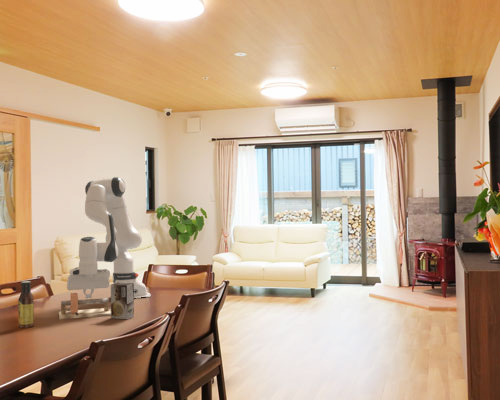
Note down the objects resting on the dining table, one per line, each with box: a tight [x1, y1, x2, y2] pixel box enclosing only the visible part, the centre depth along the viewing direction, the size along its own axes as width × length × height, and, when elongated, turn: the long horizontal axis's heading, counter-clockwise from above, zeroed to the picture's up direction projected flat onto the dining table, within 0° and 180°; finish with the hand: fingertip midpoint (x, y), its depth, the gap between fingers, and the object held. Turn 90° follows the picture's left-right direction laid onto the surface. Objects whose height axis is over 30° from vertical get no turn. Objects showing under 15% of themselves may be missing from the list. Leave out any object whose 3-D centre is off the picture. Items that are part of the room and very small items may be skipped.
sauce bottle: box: [17, 280, 35, 329], centre depth 234 cm, size 7×6×20 cm
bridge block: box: [70, 292, 79, 313], centre depth 258 cm, size 3×8×8 cm, turn 21°
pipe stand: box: [58, 297, 111, 320], centre depth 260 cm, size 24×14×7 cm, turn 111°
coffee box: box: [110, 283, 135, 320], centre depth 252 cm, size 9×6×16 cm
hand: (88, 298), depth 263 cm, fingers closed
